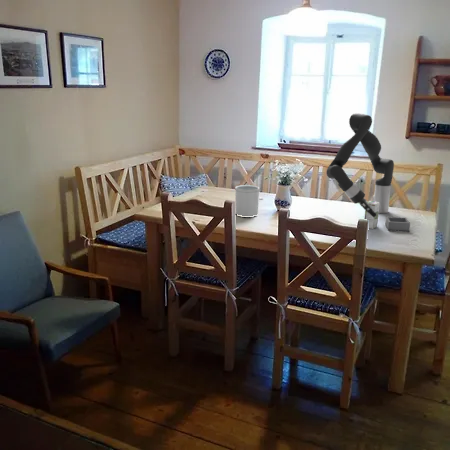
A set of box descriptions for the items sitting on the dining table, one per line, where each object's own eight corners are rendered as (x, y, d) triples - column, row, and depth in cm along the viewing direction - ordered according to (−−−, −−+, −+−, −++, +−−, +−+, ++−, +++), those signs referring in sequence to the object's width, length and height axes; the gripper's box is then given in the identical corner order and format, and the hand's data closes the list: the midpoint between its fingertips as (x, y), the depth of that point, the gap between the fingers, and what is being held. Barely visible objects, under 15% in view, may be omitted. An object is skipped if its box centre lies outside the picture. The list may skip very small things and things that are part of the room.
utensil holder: (252, 211, 300) (252, 184, 295) (263, 216, 286) (263, 188, 282) (231, 213, 294) (231, 186, 289) (241, 219, 281) (241, 190, 276)
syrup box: (367, 225, 268) (369, 200, 264) (377, 227, 265) (379, 201, 260) (363, 227, 264) (365, 202, 260) (373, 229, 260) (375, 203, 256)
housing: (387, 230, 257) (388, 222, 256) (385, 225, 268) (386, 216, 266) (409, 231, 256) (410, 222, 254) (405, 226, 266) (406, 217, 264)
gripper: (360, 191, 253) (381, 213, 254) (358, 186, 266) (378, 206, 267) (350, 200, 255) (370, 222, 256) (348, 194, 269) (367, 215, 270)
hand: (374, 214), depth 262 cm, fingers closed on syrup box, 7 cm apart
